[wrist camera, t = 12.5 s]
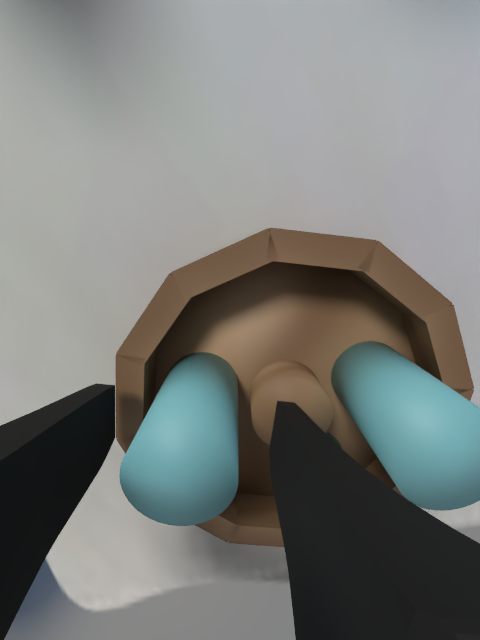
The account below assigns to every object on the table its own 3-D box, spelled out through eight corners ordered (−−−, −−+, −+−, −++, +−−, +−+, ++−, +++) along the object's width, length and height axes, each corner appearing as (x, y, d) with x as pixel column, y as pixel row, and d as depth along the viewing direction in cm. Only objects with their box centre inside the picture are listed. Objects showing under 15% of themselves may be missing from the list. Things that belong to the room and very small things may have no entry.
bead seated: (410, 344, 12) (532, 416, 7) (392, 409, 12) (490, 514, 8) (338, 337, 12) (410, 405, 7) (324, 402, 12) (381, 505, 8)
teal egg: (240, 354, 12) (242, 432, 7) (235, 418, 12) (234, 528, 8) (167, 349, 12) (117, 424, 7) (166, 413, 12) (121, 522, 8)
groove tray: (464, 254, 12) (524, 257, 9) (386, 507, 15) (415, 559, 12) (140, 216, 11) (113, 209, 9) (135, 487, 14) (115, 536, 12)
